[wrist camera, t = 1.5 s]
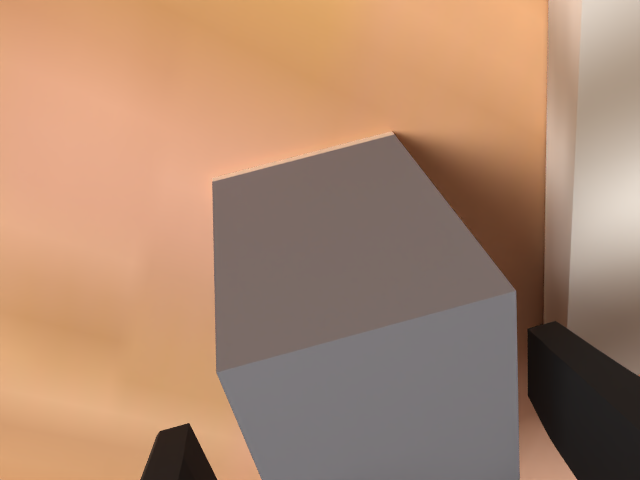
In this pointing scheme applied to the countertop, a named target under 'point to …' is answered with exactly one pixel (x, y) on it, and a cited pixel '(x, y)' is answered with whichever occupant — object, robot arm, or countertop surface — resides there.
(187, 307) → the countertop surface
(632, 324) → the ash board
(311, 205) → the block
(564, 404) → the robot arm
